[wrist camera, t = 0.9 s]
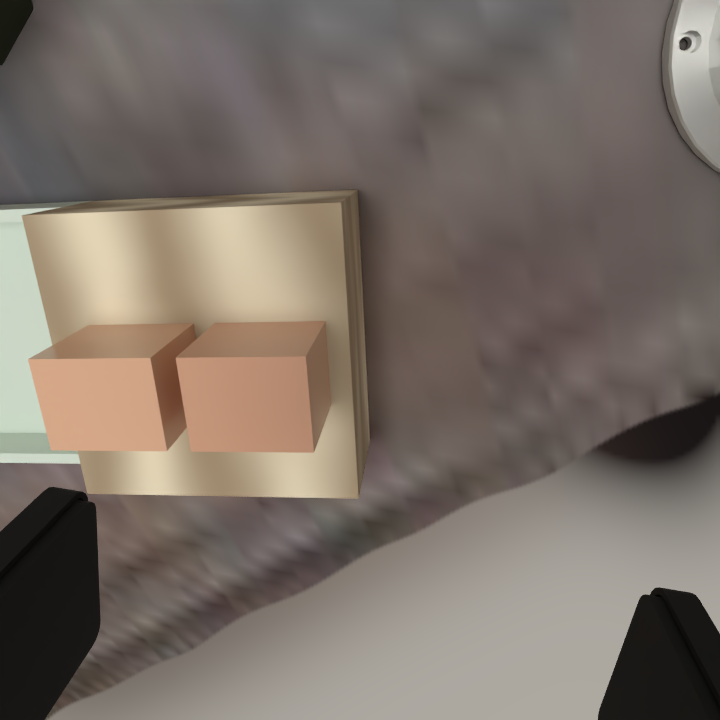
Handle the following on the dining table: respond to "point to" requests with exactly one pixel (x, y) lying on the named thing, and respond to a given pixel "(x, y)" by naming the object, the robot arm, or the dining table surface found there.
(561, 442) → the dining table surface
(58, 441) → the block
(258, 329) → the block
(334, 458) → the plate
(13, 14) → the wine bottle
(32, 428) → the tray
